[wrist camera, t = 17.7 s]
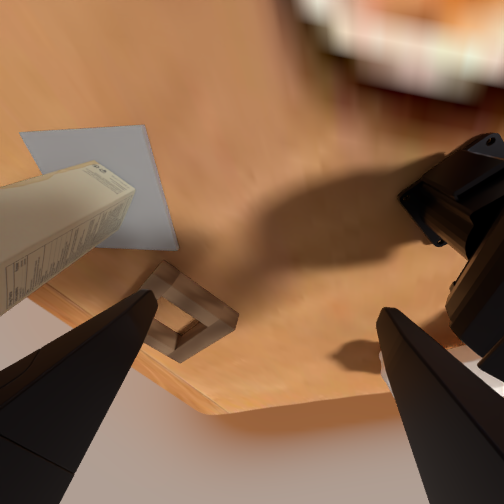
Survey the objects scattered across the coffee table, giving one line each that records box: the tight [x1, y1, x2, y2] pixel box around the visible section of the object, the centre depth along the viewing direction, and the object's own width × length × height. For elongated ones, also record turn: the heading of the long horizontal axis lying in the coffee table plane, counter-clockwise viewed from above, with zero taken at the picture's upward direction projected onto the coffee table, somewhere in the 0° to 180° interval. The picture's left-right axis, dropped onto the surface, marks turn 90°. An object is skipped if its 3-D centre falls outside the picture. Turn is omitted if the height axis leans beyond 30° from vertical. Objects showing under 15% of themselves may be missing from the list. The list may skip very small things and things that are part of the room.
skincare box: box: [0, 160, 136, 316], centre depth 16 cm, size 6×4×12 cm
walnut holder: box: [137, 260, 239, 363], centre depth 30 cm, size 12×14×2 cm
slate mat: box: [19, 125, 179, 251], centre depth 22 cm, size 12×12×1 cm
